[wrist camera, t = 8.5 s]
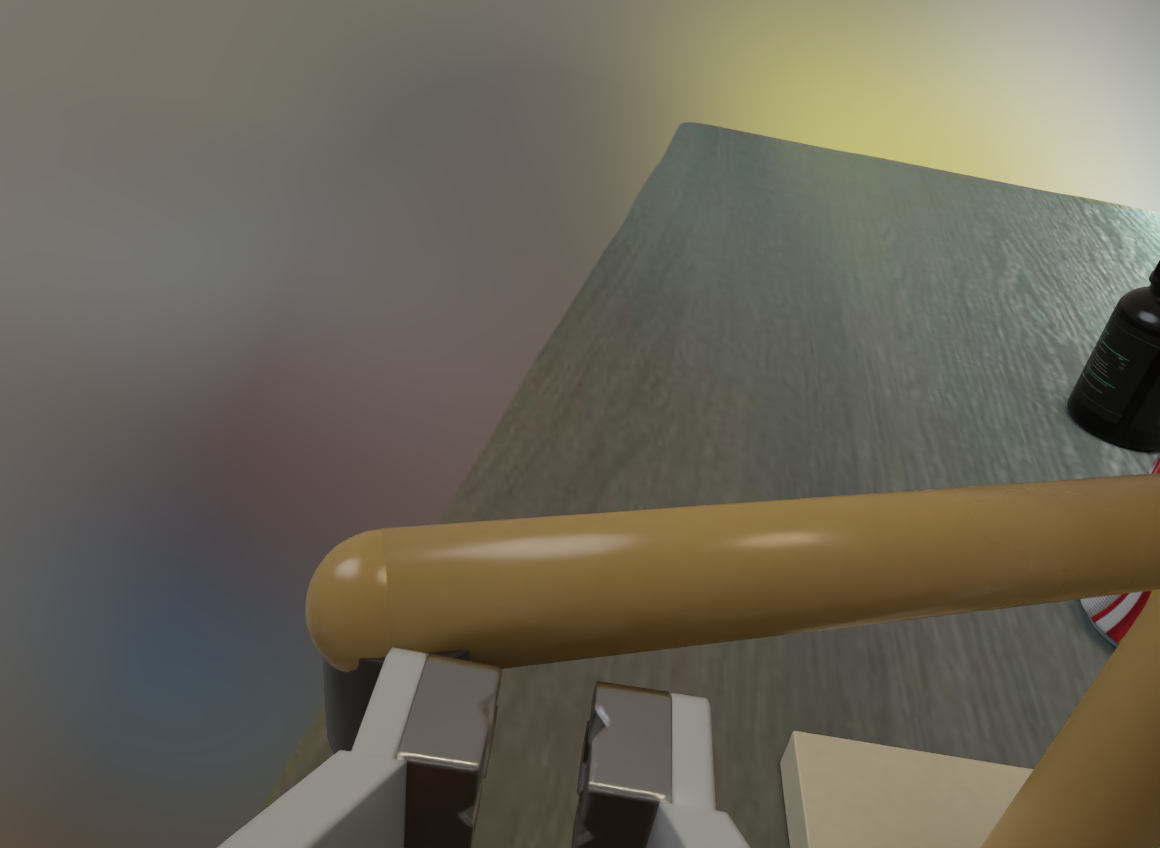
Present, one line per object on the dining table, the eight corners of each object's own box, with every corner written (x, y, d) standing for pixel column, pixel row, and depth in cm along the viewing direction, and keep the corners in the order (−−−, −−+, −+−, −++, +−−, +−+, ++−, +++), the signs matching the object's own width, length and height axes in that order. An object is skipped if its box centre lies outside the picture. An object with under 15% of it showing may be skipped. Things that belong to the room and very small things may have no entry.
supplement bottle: (1155, 413, 62) (1246, 258, 55) (1183, 464, 56) (1288, 298, 50) (1056, 389, 63) (1134, 235, 56) (1074, 437, 57) (1162, 271, 51)
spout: (1236, 535, 22) (1342, 387, 19) (1415, 673, 18) (1572, 512, 16) (312, 628, 15) (299, 426, 13) (314, 865, 12) (297, 649, 9)
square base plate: (825, 1152, 23) (1111, 783, 14) (779, 762, 33) (928, 402, 24) (1270, 1225, 23) (1852, 902, 14) (1088, 812, 33) (1354, 469, 24)
